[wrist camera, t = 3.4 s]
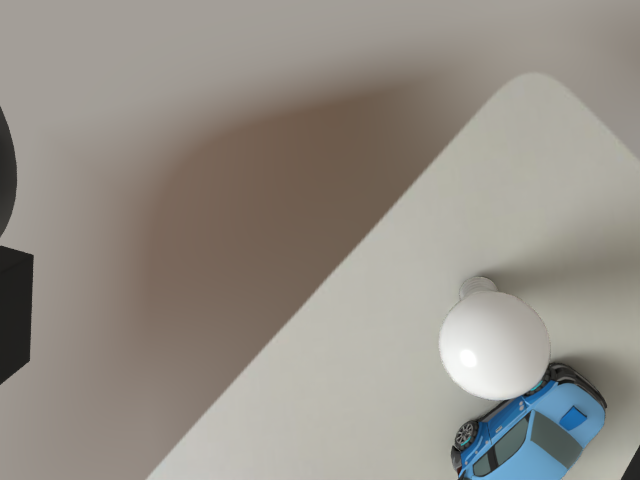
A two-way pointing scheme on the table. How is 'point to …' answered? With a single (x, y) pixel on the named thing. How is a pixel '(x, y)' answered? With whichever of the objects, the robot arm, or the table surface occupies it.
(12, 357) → the robot arm
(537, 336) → the lightbulb
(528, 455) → the toy car
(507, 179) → the table surface
